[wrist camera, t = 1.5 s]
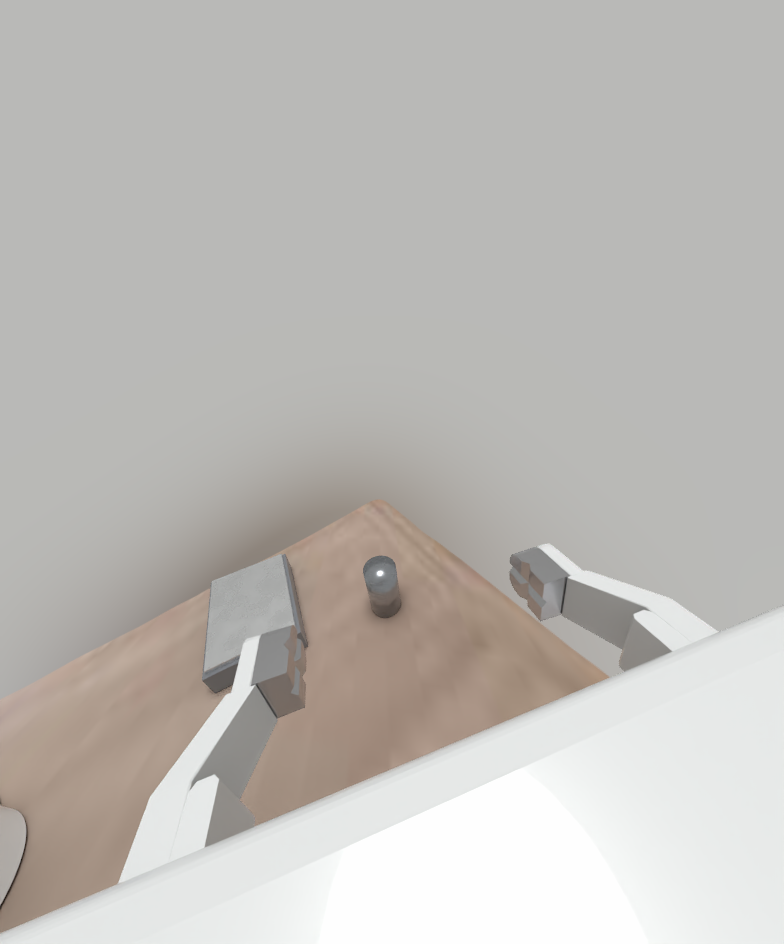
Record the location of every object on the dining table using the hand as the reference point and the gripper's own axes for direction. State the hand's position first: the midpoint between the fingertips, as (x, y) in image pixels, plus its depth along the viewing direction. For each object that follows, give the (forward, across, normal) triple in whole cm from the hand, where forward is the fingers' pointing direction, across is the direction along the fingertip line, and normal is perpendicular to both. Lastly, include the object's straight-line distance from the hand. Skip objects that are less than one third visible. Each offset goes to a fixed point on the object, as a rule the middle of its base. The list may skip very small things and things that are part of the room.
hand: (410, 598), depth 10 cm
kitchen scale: (+32, -21, -31) cm, 49 cm away
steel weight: (+27, 0, -32) cm, 42 cm away
